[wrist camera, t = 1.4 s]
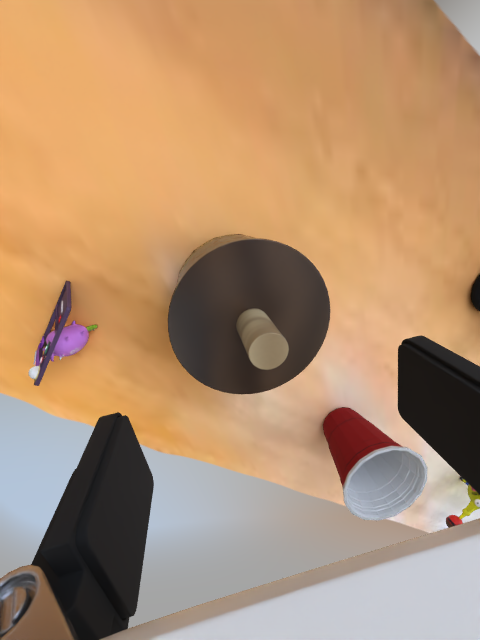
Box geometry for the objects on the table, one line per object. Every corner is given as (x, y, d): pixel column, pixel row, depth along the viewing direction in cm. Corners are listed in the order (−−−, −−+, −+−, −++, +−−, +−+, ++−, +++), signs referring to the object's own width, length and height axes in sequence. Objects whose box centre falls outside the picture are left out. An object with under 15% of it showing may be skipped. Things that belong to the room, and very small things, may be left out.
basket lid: (186, 401, 30) (187, 452, 23) (150, 252, 24) (139, 268, 18) (326, 371, 31) (361, 411, 25) (322, 225, 26) (366, 231, 20)
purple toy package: (57, 304, 26) (24, 385, 28) (116, 320, 29) (83, 391, 32) (58, 277, 31) (30, 347, 33) (108, 293, 35) (80, 356, 37)
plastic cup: (364, 380, 44) (425, 438, 33) (377, 431, 48) (434, 498, 37) (298, 409, 44) (336, 477, 33) (316, 458, 48) (355, 533, 37)
